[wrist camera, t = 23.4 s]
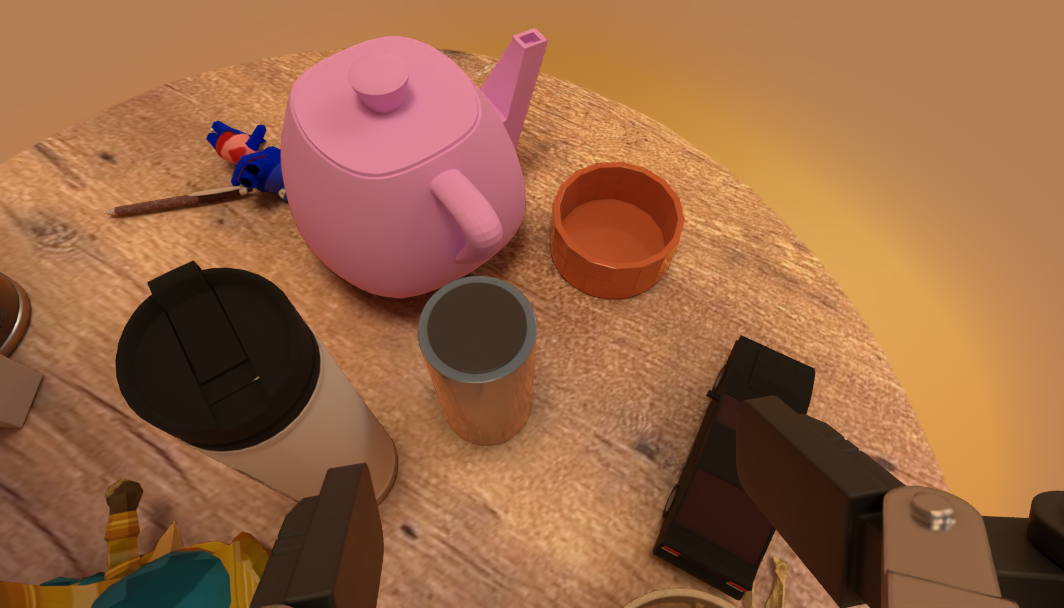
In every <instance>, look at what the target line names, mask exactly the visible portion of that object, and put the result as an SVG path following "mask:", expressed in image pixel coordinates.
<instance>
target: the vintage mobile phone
mask: <svg viewBox="0 0 1064 608" xmlns="http://www.w3.org/2000/svg"><path fill="white" fill-rule="evenodd" d="M42 376H43V374H42V373H40V372H38V371H36V370H33V369H31V368H29V367H27V366H25V365H22V364H20V363H18V362H16V361H14V360H11V359H9V358H7V357H5V356H3V355H0V427H10V428H21V427H22V426H23V424H24V421H25V419H26V416H27V414H28V411H29V409H30V406H31V404H32V401H33V399H34V396H35V394H36V391H37V389H38V386H39V384H40V381H41V379H42Z"/></svg>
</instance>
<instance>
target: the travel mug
mask: <svg viewBox="0 0 1064 608" xmlns="http://www.w3.org/2000/svg"><path fill="white" fill-rule="evenodd" d="M147 283H148V286H149V288H150V290H151V293H152V295H151V296H149V297H148V298H147V299H146V300H145V301H144V302H143V303H142V304H141V305H140V306H139V307H138V308H137V309H136V310H135V312H134V313H133V315H132V316H131V318H130V319H129V321H128V323H127V324H126V326H125V327H124V330H123V333H122V335H121V338H120V340H119V343H118V349H117V354H116V377H117V381H118V384H119V387H120V391H121V393H122V395H123V397H124V398H125V400H126V402H127V403H128V405H129V407H130V408H131V409H132V410H133V411H134V412H135V413H136V414H137V415H138V416H139V417H140V418H142V419H143V420H145V421H147V422H148V423H150V424H152V425H153V426H155V427H157V428H159V429H161V430H163V431H165V432H167V433H168V434H170V435H172V436H174V437H176V438H177V439H178V440H180V441H182V442H183V443H185V444H187V445H188V446H190V447H192V448H194V449H196V450H198V451H200V452H201V453H203V454H205V455H207V456H209V457H211V458H213V459H215V460H217V461H219V462H221V463H223V464H225V465H227V466H228V467H230V468H232V469H234V470H236V471H238V472H240V473H242V474H244V475H246V476H248V477H250V478H252V479H254V480H256V481H258V482H260V483H261V484H263V485H265V486H267V487H269V488H271V489H273V490H275V491H277V492H279V493H281V494H283V495H285V496H287V497H289V498H291V499H292V500H294V501H296V502H298V503H299V502H300V501H301V500H302V499H303V498H305V497H311V496H317V495H319V493H320V490H321V487H322V484H323V481H324V478H325V475H326V473H327V470H328V469H329V468H334V467H340V466H347V465H353V464H359V463H367V465H368V467H369V470H370V474H371V479H372V484H373V488H374V493H375V497H376V502H377V505H378V504H379V503H380V502H381V501H382V500H383V499H384V498H385V497H386V495H387V494H388V492H389V491H390V489H391V487H392V485H393V483H394V480H395V478H396V473H397V468H398V457H397V452H396V448H395V446H394V443H393V441H392V439H391V438H390V437H389V435H388V434H387V433H386V431H385V430H384V428H383V427H382V426H381V424H380V423H379V421H378V420H377V419H376V417H375V416H374V414H373V413H372V412H371V410H370V409H369V408H368V406H367V405H366V403H365V402H364V401H363V399H362V398H361V396H360V395H359V394H358V392H357V391H356V389H355V388H354V387H353V385H352V384H351V383H350V381H349V380H348V378H347V377H346V376H345V374H344V373H343V371H342V370H341V369H340V367H339V366H338V364H337V363H336V362H335V360H334V359H333V358H332V356H331V355H330V353H329V352H328V351H327V349H326V348H325V346H324V345H323V344H322V342H321V341H320V340H319V338H318V337H317V335H316V334H315V333H314V331H313V330H312V328H311V327H310V326H309V324H308V323H307V322H306V321H304V320H303V319H302V317H301V316H300V314H299V313H298V312H297V310H296V309H295V307H294V306H293V305H292V303H291V302H290V301H289V299H288V298H287V296H286V295H285V294H284V292H283V291H282V290H280V289H279V288H278V287H277V286H276V285H275V284H274V283H272V282H271V281H269V280H267V279H265V278H264V277H262V276H260V275H258V274H255V273H252V272H249V271H245V270H241V269H233V268H211V269H205V270H201V268H200V267H199V266H198V265H197V264H196V263H195V261H191V262H189V263H187V264H185V265H183V266H180V267H178V268H176V269H174V270H171V271H169V272H167V273H165V274H163V275H161V276H159V277H157V278H155V279H153V280H151V281H149V282H147Z"/></svg>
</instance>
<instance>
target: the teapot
mask: <svg viewBox="0 0 1064 608" xmlns="http://www.w3.org/2000/svg"><path fill="white" fill-rule="evenodd" d="M547 41H548V40H547V39H546V38H545V37H544V36H543V35H542V34H540V32H539V31H538V30H537V29H536V28H534V29H531V30H528V31H525V32H522V33H519V34H517V35H514V36H512V41H511V43H510V44H509V46H508V47H507V49H506V50H505V52H504V54H503V55H502V57H501V58H500V60H499V61H498V63H497V64H496V66H495V67H494V69H493V70H492V72H491V73H490V75H489V77H488V78H487V80H486V81H485V83H484V84H483V86H482V87H481V89H480V90H479V89H478V87H477V86H476V85H475V84H474V82H473V81H472V80H471V79H470V78H469V77H468V76H467V75H466V74H465V73H464V71H463V70H462V69H461V68H460V67H459V66H457V65H456V64H455V63H454V62H453V61H452V60H451V59H449V58H448V57H447V56H445V55H444V54H443V53H441V52H440V51H438V50H436V49H435V48H433V47H431V46H429V45H427V44H426V43H423V42H420V41H418V40H415V39H411V38H407V37H401V36H386V37H380V38H376V39H372V40H369V41H366V42H363V43H360V44H357V45H354V46H352V47H350V48H347V49H345V50H343V51H340V52H338V53H336V54H334V55H332V56H330V57H328V58H326V59H324V60H322V61H321V62H319V63H317V64H315V65H314V66H312V67H311V68H310V69H308V70H307V71H305V72H304V73H303V74H302V75H301V76H300V77H299V78H298V79H297V80H296V82H295V83H294V85H293V88H292V90H291V93H290V96H289V99H288V103H287V108H286V113H285V118H284V123H283V129H282V136H281V168H282V175H283V181H284V186H285V191H286V195H287V199H288V203H289V206H290V210H291V213H292V215H293V218H294V220H295V222H296V225H297V227H298V229H299V231H300V233H301V235H302V236H303V238H304V240H305V241H306V243H307V245H308V246H309V248H310V249H311V250H312V251H313V253H314V254H315V255H316V256H317V257H318V258H319V259H320V260H321V261H322V262H323V263H324V264H325V265H326V266H327V267H328V268H329V269H331V270H332V271H333V272H335V273H336V274H337V275H338V276H340V277H341V278H343V279H344V280H346V281H348V282H349V283H351V284H353V285H354V286H356V287H358V288H360V289H362V290H365V291H367V292H369V293H373V294H376V295H380V296H385V297H393V298H398V299H402V298H407V297H412V296H417V295H422V294H425V293H428V292H431V291H433V290H436V289H439V288H441V287H443V286H445V285H447V284H449V283H451V282H453V281H455V280H458V279H460V278H462V277H463V276H465V275H467V274H469V273H471V272H472V271H474V270H475V269H477V268H478V267H480V266H481V265H483V264H484V263H485V262H487V261H488V260H489V259H490V258H492V257H493V256H494V255H495V254H497V253H498V252H499V251H500V250H501V249H502V248H503V247H504V246H505V245H506V244H507V243H508V242H509V241H510V240H511V239H512V238H513V236H514V235H515V233H516V232H517V230H518V228H519V227H520V224H521V222H522V220H523V217H524V213H525V208H526V199H525V184H524V179H523V174H522V170H521V166H520V162H519V159H518V156H517V153H516V151H515V150H516V147H517V144H518V141H519V137H520V134H521V130H522V127H523V124H524V120H525V117H526V114H527V110H528V107H529V104H530V100H531V97H532V93H533V90H534V87H535V83H536V80H537V77H538V73H539V70H540V67H541V63H542V60H543V56H544V53H545V49H546V46H547Z"/></svg>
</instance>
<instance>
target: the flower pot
mask: <svg viewBox="0 0 1064 608" xmlns="http://www.w3.org/2000/svg"><path fill="white" fill-rule="evenodd" d="M623 608H737V607H735V606H733V605H732V604H730V603H729V602H727V601H725V600H723V599H721V598H719V597H716V596H714V595H711V594H708V593H705V592H703V591H698V590H694V589H686V588H669V589H663V590H656V591H653V592H650V593H647V594H645V595H643V596H640V597H638V598H636V599H635V600H633V601H631V602H630V603H628V604H627V605H625V606H624V607H623Z"/></svg>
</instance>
